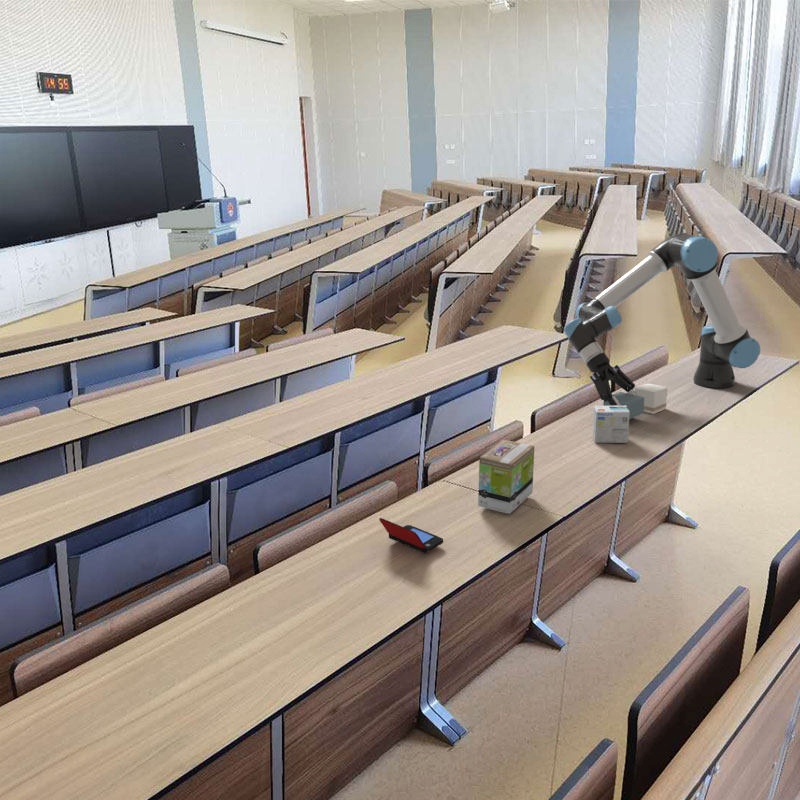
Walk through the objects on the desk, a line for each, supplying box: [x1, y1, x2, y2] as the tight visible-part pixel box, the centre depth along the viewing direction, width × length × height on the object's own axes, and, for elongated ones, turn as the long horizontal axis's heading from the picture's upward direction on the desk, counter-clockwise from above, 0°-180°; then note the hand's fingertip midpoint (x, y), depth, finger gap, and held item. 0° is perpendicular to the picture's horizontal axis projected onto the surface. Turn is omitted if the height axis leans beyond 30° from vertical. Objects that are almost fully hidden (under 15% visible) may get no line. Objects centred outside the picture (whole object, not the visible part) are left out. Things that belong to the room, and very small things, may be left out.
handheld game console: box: [378, 517, 444, 554], centre depth 192 cm, size 12×11×7 cm
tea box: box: [477, 439, 535, 515], centre depth 211 cm, size 15×10×15 cm
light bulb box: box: [592, 405, 630, 444], centre depth 252 cm, size 11×7×11 cm, turn 84°
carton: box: [634, 382, 668, 415], centre depth 279 cm, size 8×8×8 cm
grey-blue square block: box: [602, 391, 645, 420], centre depth 269 cm, size 10×10×6 cm
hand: (631, 410), depth 267 cm, fingers closed on grey-blue square block, 10 cm apart
